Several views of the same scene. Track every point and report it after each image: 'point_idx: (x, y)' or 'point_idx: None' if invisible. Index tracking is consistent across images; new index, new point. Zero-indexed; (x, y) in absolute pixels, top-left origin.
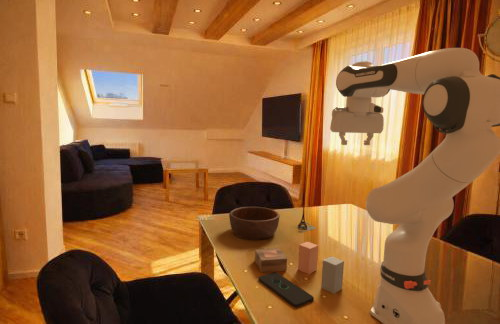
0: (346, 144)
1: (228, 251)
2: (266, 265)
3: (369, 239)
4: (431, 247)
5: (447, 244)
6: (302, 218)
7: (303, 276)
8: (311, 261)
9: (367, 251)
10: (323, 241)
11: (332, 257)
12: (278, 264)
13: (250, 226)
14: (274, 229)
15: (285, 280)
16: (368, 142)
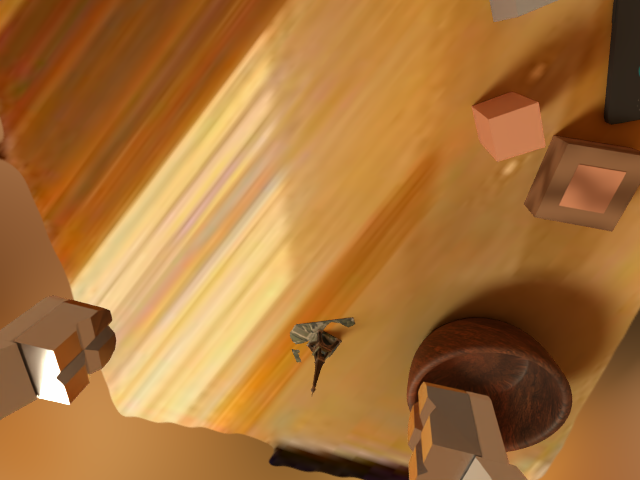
0: (435, 384)
1: (622, 289)
2: (627, 150)
3: (196, 222)
4: (59, 122)
5: (3, 123)
6: (323, 360)
7: (535, 85)
8: (510, 100)
9: (250, 160)
10: (327, 253)
11: (524, 3)
12: (589, 144)
13: (538, 348)
14: (448, 330)
15: (623, 64)
16: (45, 321)
